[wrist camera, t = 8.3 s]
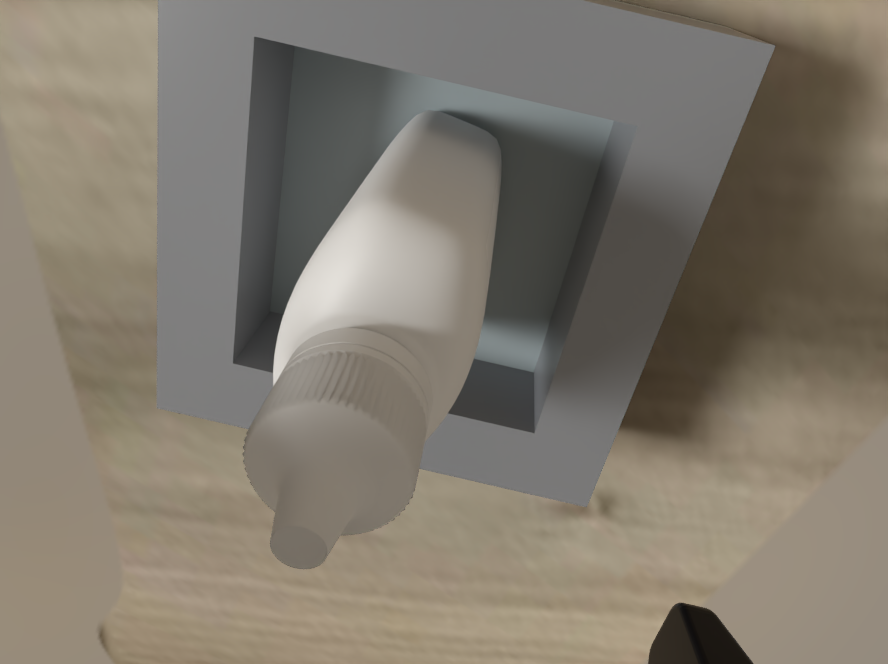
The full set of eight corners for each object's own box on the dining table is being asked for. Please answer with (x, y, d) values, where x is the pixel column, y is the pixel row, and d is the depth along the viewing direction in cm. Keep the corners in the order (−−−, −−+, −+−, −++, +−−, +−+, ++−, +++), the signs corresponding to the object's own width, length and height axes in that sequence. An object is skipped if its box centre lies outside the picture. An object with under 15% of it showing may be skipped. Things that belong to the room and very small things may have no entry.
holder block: (577, 421, 23) (586, 507, 19) (214, 337, 23) (156, 407, 19) (724, 25, 17) (775, 45, 13) (235, -89, 17) (158, -100, 13)
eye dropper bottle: (560, 215, 18) (603, 565, 8) (402, 328, 21) (271, 721, 10) (455, 79, 17) (341, 284, 7) (297, 214, 19) (20, 533, 9)
